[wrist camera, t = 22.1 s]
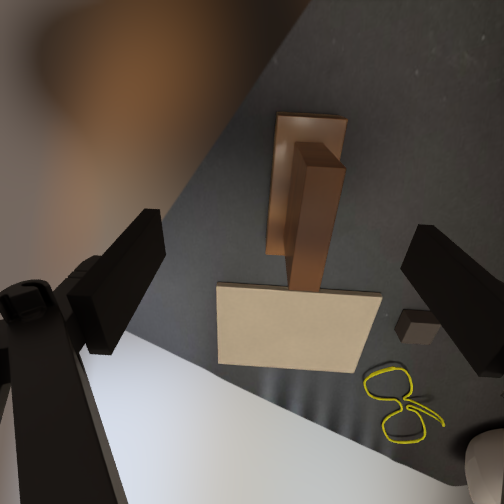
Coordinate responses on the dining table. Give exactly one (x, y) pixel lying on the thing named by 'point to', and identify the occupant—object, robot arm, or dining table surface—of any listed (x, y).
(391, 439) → the glasses
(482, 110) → the dining table surface
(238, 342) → the tile
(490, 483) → the vase
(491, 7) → the dining table surface
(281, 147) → the brown stepped block
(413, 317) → the dark brown block
